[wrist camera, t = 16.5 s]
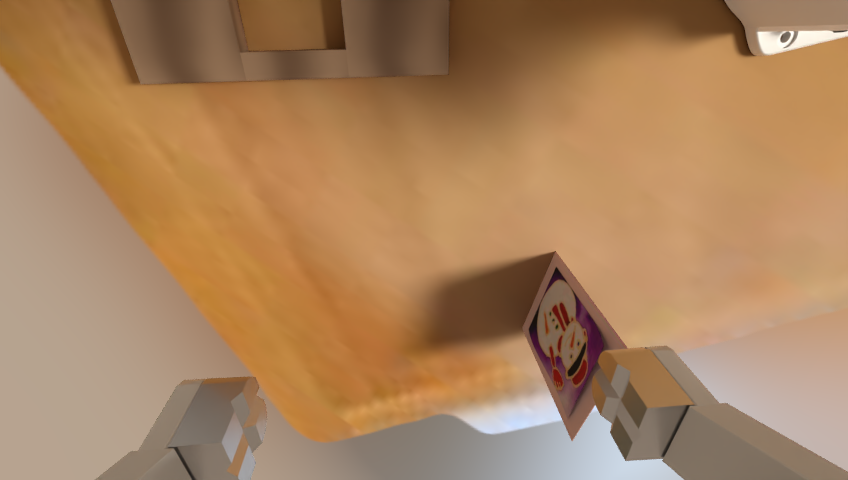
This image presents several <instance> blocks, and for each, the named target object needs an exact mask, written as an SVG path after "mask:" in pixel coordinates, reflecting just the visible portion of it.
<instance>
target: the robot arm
mask: <svg viewBox="0 0 848 480" xmlns="http://www.w3.org/2000/svg"><path fill="white" fill-rule="evenodd" d="M724 1H725V2H726V4H727V6H728V7H729V8H730V10H731V11H732V12H733V13H734V14H735V15H736V16H737V17H738V18H739V20H740V21H741V22H742V24H743V25H744V27H745V33H746V38H747V43H748V46H749V49H750V51H751V53H752V54H754V55H756V56H766V55H773V54H777V53H781V52H785V51H790V50H794V49H798V48H802V47H806V46H810V45H814V44H819V43H823V42H827V41H831V40H835V39H839V38H844V37H848V0H724ZM782 34H783V37H782V39H781V40H780V38H781V36H782ZM598 364H599V365H600V367H601V369H600V370H599V371H598V372H597V373H596V374H594V376H593V380H592V395H593V399H594V402H595V405H596V407H597V409H598V411H599V413H600V415H601V416H603V417H604V418H605V419H607V420H608V421H609V422H611V423H612V426H611V431H610V433H611V435H612V437H613V439H614V441H615V443H616V444H617V446H618V448H619V450H620V452H621V453H622V455H623V457H624V459H625V461H630V460H647V459H663V460H662V461H663V462H664V463H666V464H667V465H668V466H669V467H670V468H672V469H673V470H674V471H675V472H676V473H677V474H678V475H679V476H681V477H682V478H683V479H684V480H848V472H847V471H845V470H843V469H842V468H840V467H838V466H836V465H835V464H833V463H831V462H829V461H828V460H826V459H824V458H822V457H821V456H818V455H817V454H815V453H813V452H812V451H810V450H808V449H806V448H804V447H803V446H801V445H799V444H798V443H796V442H794V441H792V440H790V439H789V438H787V437H785V436H783V435H782V434H780V433H778V432H776V431H775V430H773V429H771V428H769V427H768V426H766V425H764V424H762V423H760V422H759V421H757V420H755V419H753V418H752V417H750V416H748V415H746V414H745V413H743V412H741V411H739V410H738V409H736V408H734V407H732V406H730V405H729V404H727V403H719V402H718V401H717V400H716V399H715V398H714V396H713V395H712V394H711V393H710V392H709V391H708V390H707V388H706V387H705V386H704V385H703V384H702V383H701V382H700V380H699V379H698V378H697V377H696V376H695V375H694V374H693V372H692V371H691V370H690V369H689V368H688V367H687V365H686V364H685V363H684V362H683V361H682V360H681V359H680V357H678V355H677V354H676V353H675V352H674V351H673V350H672V349H671V348H669V347H667V346H657V347H645V348H642V347H641V348H629V349H617V350H605V351H603V352H602V353H601V354H600V356H599V359H598ZM258 389H259V385H258V382H257V380H256V378H255V377H233V378H211V379H196V380H184V381H182V382H181V383H180V384H179V385H178V386H177V387H176V389H175V390H174V392H173V394H172V395H171V397H170V398H169V400H168V402H167V403H166V405H165V407H164V408H163V410H162V412H161V413H160V415H159V417H158V418H157V420H156V422H155V424H154V425H153V427H152V429H151V430H150V432H149V434H148V435H147V437H146V439H145V440H144V442H143V444H142V445H141V447H140V449H139V450H138V451H132V452H130V453H128V454H127V455H126V456H124V457H123V458H122V459H121V460H119V461H118V462H117V463H115V464H114V465H113V466H112V467H110V468H109V469H108V470H107V471H105V472H104V473H103V474H102V475H100V476H99V477H98V478H96V479H95V480H251V476H252V473H253V470H254V467H255V464H256V462H255V459H254V457H253V454H252V453H253V451H254V450H256V448H257V447H258V446H259V445H260V444H261V443H262V441H263V438H264V434H265V431H266V422H267V411H266V405H265V402H264V400H263V399H261V398H260V397H259V396H257V392H258Z"/></svg>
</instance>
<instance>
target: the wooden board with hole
mask: <svg viewBox="0 0 848 480" xmlns="http://www.w3.org/2000/svg"><path fill="white" fill-rule="evenodd" d="M111 3H112V6H113V9H114V12H115V14H116V17H117V20H118V23H119V25H120V28H121V31H122V34H123V37H124V39H125V42H126V45H127V48H128V50H129V53H130V56H131V59H132V62H133V64H134V67H135V70H136V73H137V75H138V78H139V81H140V84H164V83H196V82H228V81H259V80H291V79H323V78H355V77H387V76H419V75H449V0H341V7H342V16H343V26H344V35H345V44H346V49H310V50H273V51H248V47H247V42H246V38H245V33H244V29H243V24H242V20H241V15H240V11H239V6H238V2H237V0H111Z"/></svg>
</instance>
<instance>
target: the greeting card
mask: <svg viewBox="0 0 848 480" xmlns="http://www.w3.org/2000/svg"><path fill="white" fill-rule="evenodd" d="M522 329H523V331H524V334H525V336H526V338H527V340H528V343H529V345H530V347H531V350H532V352H533V354H534V356H535V359H536V361H537V363H538V365H539V368H540V370H541V372H542V374H543V377H544V379H545V381H546V384H547V386H548V388H549V390H550V393H551V395H552V397H553V399H554V402H555V404H556V406H557V408H558V411H559V413H560V415H561V418H562V420H563V422H564V424H565V426H566V429H567V431H568V433H569V436H570V438H571V440H572V441H573V439H574V438H575V436H576V435H577V433H578V431H579V430H580V428H581V426H582V425H583V423H584V422H585V420H586V419H587V417H588V416H589V414H590V412H591V411H592V409H593V408H594V406H595V402H594V399H593V395H592V380H593V376H594V374H596V373H597V372H598V371H599V370H600V369H601V367H600V365H599V364H598V359H599V356H600V354H601V353H602V352H603V351H605V350H617V349H628V348H627V347H626V345H625V344H624V343H623V341H622V340H621V339H620V337H619V336H618V335H617V333H616V332H615V331H614V329H613V328H612V327H611V325H610V324H609V323H608V321H607V320H606V318H605V317H604V316H603V314H602V313H601V312H600V310H599V309H598V308H597V306H596V305H595V304H594V302H593V301H592V300H591V298H590V297H589V296H588V294H587V293H586V292H585V290H584V289H583V287H582V286H581V285H580V283H579V282H578V281H577V279H576V278H575V277H574V275H573V274H572V273H571V271H570V270H569V269H568V267H567V266H566V265H565V263H564V262H563V261H562V259H561V258H560V256H559V255H558V254H557V252H556V251H555V253H554V256H553V258H552V260H551V263H550V265H549V267H548V269H547V272H546V274H545V276H544V279H543V281H542V283H541V286H540V288H539V290H538V293H537V295H536V297H535V300H534V302H533V304H532V307H531V309H530V311H529V313H528V316H527V318H526V320H525V323H524V325H523V327H522Z"/></svg>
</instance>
